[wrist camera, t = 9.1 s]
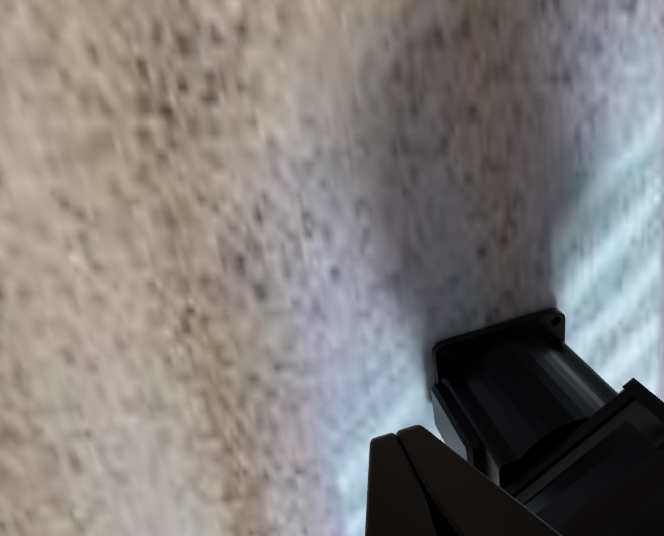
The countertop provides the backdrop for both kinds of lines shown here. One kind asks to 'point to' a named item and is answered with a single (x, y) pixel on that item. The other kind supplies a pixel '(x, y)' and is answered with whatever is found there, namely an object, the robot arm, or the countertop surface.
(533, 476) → the robot arm
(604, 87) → the countertop surface
